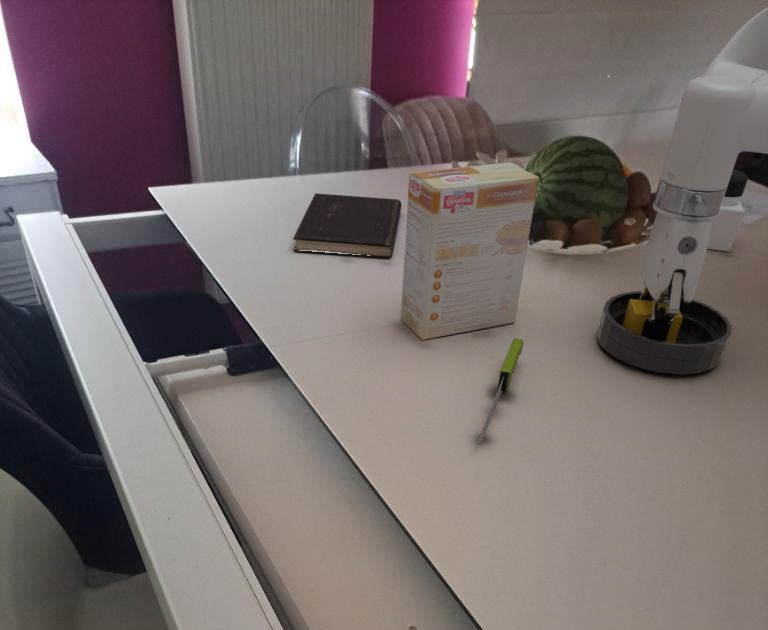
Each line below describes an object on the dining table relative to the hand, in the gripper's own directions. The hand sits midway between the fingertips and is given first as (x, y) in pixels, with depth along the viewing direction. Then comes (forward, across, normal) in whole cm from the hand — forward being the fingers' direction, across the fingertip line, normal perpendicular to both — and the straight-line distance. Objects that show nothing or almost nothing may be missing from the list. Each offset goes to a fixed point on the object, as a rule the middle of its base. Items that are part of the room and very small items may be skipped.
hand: (646, 338), depth 99 cm
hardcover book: (+1, +35, +44) cm, 56 cm away
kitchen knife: (+1, -18, +20) cm, 27 cm away
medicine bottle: (+1, +43, -19) cm, 47 cm away
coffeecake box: (+1, +3, +25) cm, 25 cm away
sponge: (+1, 0, 0) cm, 1 cm away
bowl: (+1, 0, -2) cm, 2 cm away
